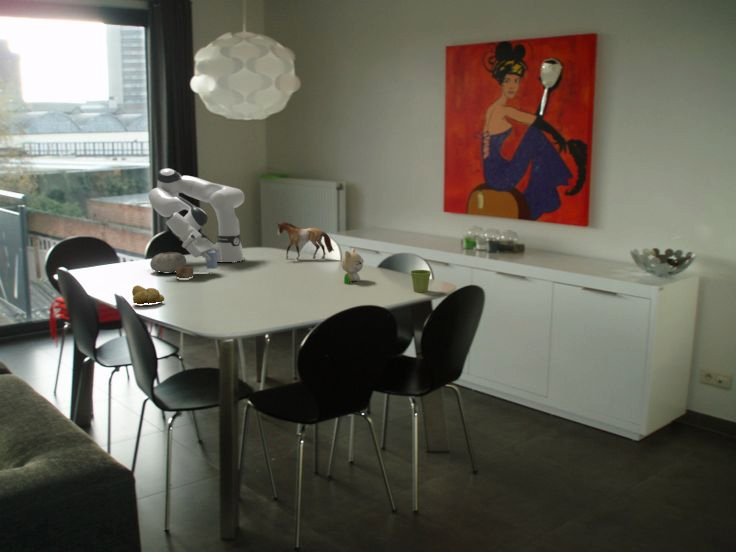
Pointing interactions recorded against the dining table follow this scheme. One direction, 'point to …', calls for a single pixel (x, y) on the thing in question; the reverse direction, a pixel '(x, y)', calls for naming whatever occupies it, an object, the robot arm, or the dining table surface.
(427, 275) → the plant pot
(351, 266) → the kitten
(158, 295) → the bread roll
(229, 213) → the robot arm
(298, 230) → the horse figurine
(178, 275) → the walnut cube
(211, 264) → the blue brick
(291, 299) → the dining table surface
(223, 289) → the dining table surface
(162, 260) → the decorative shell
